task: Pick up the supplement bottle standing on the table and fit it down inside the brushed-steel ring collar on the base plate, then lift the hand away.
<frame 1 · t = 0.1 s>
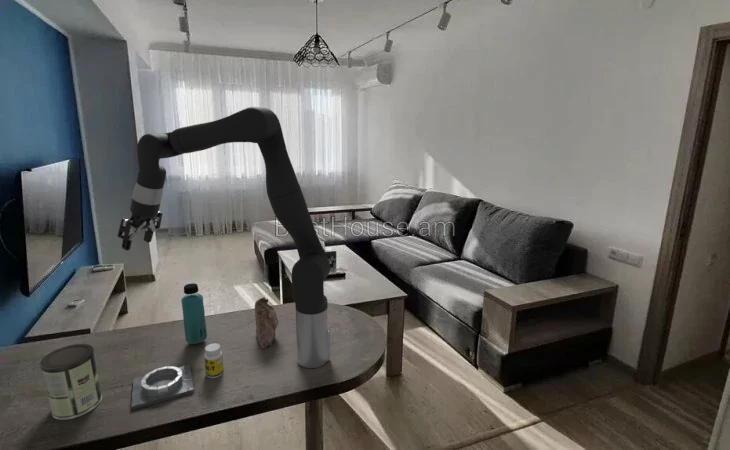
hand: (136, 245, 118), 31 cm above the table, tool tilted 20°, fingers open, 8 cm apart
supplement bottle: (215, 374, 108), on the table
beverage bottle: (196, 343, 123), on the table
ring base: (163, 387, 102), on the table
coffee can: (77, 405, 95), on the table
stone: (268, 339, 126), on the table
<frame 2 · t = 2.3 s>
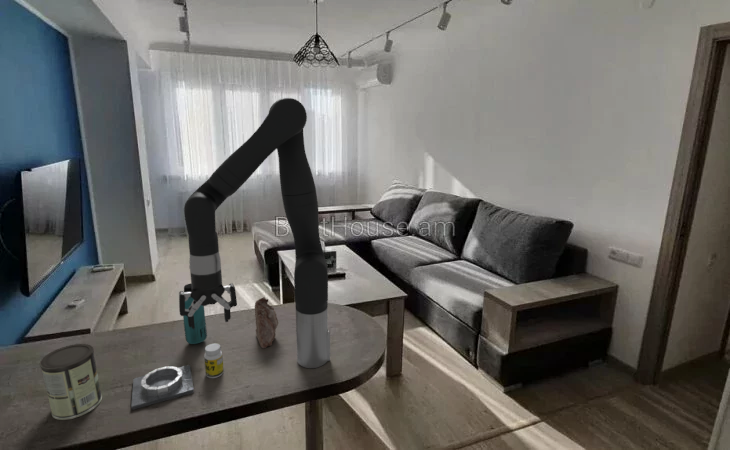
hand: (210, 324, 104), 15 cm above the table, tool pointing down, fingers open, 8 cm apart
nothing on the table moved.
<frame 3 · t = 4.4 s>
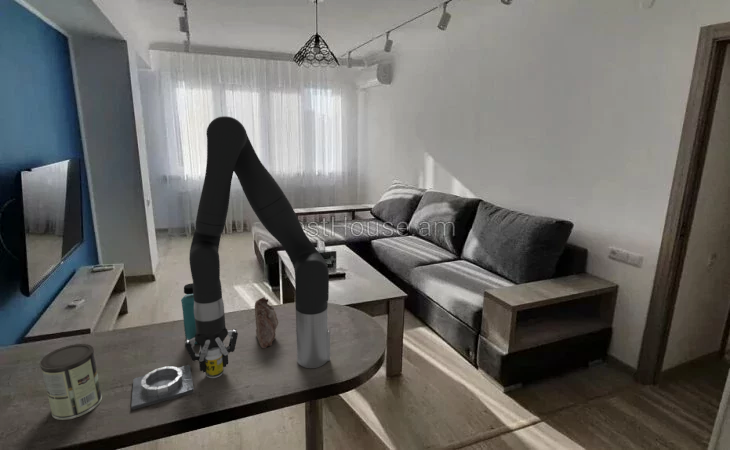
hand: (214, 367, 108), 2 cm above the table, tool pointing down, fingers closed on supplement bottle, 4 cm apart
supplement bottle: (215, 373, 108), on the table, touching gripper
everything else where it was.
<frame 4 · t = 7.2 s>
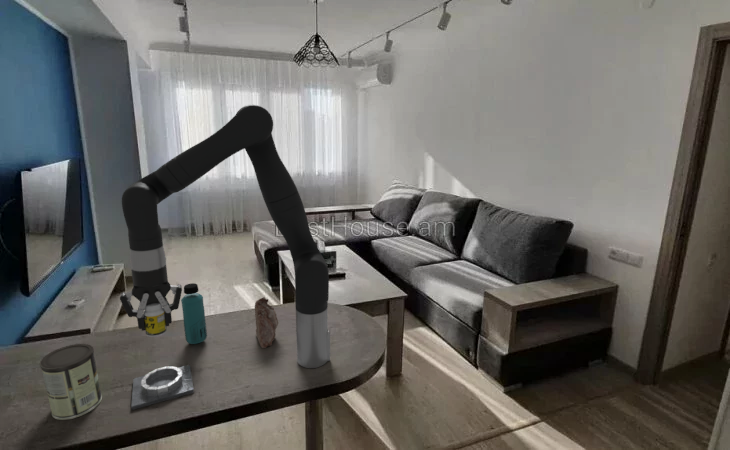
hand: (155, 326, 98), 18 cm above the table, tool pointing down, fingers closed on supplement bottle, 4 cm apart
supplement bottle: (156, 333, 98), point 16 cm above the table, touching gripper
everything else where it was.
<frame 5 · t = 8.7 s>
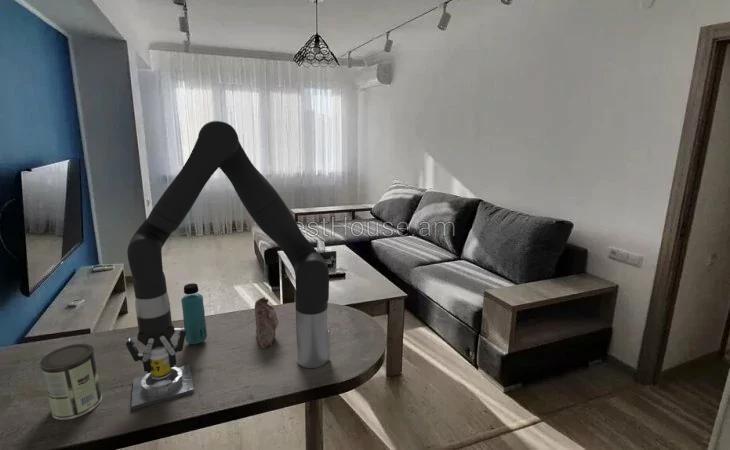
hand: (160, 368, 101), 6 cm above the table, tool pointing down, fingers closed on supplement bottle, 4 cm apart
supplement bottle: (161, 374, 101), point 4 cm above the table, touching gripper
everything else where it was.
when the fingers open (4 cm above the table, at t = 9.9 s): supplement bottle stays where it is, resting on ring base.
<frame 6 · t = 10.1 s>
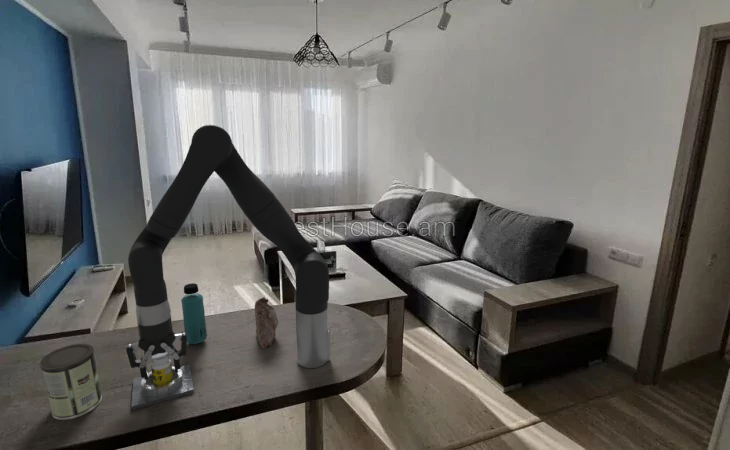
hand: (161, 373, 101), 4 cm above the table, tool pointing down, fingers open, 6 cm apart
supplement bottle: (163, 384, 102), point 1 cm above the table, touching ring base
everything else where it was.
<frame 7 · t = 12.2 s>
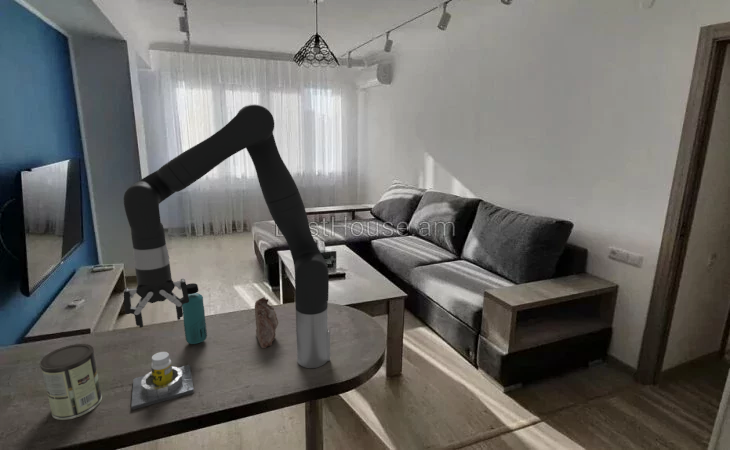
hand: (160, 322, 98), 19 cm above the table, tool pointing down, fingers open, 8 cm apart
nothing on the table moved.
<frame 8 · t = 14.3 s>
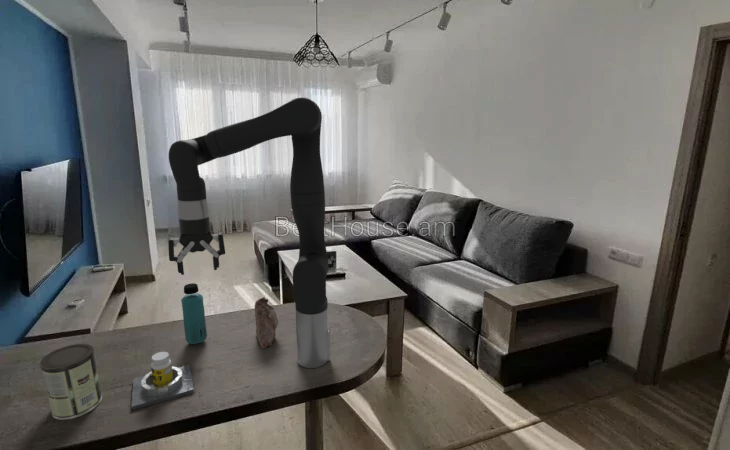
hand: (199, 271, 107), 28 cm above the table, tool pointing down, fingers open, 8 cm apart
nothing on the table moved.
at the end: supplement bottle 0.2 cm off-centre on the ring base, point 0.8 cm above the ring base's base; supplement bottle tilted 0°; the gripper is holding nothing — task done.
